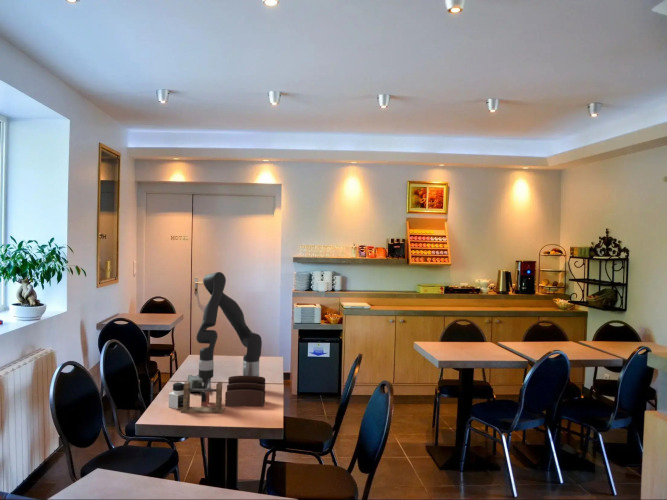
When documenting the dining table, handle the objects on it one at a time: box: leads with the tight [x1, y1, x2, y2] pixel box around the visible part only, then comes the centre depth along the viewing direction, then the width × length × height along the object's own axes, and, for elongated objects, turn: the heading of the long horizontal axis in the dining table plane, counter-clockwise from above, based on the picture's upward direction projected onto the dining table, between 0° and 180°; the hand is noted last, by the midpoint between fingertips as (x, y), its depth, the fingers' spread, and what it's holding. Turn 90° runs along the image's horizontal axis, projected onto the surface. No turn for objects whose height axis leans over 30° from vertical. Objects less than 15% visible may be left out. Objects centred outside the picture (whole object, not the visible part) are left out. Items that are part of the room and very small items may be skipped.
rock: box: [186, 373, 203, 393], centre depth 294 cm, size 18×11×8 cm, turn 25°
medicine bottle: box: [168, 381, 185, 410], centre depth 263 cm, size 7×7×12 cm
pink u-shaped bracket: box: [200, 391, 210, 407], centre depth 267 cm, size 3×6×7 cm, turn 2°
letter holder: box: [224, 374, 266, 408], centre depth 271 cm, size 10×20×14 cm, turn 92°
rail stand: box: [180, 380, 225, 414], centre depth 256 cm, size 20×6×14 cm, turn 92°
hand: (205, 399), depth 267 cm, fingers open, 8 cm apart
